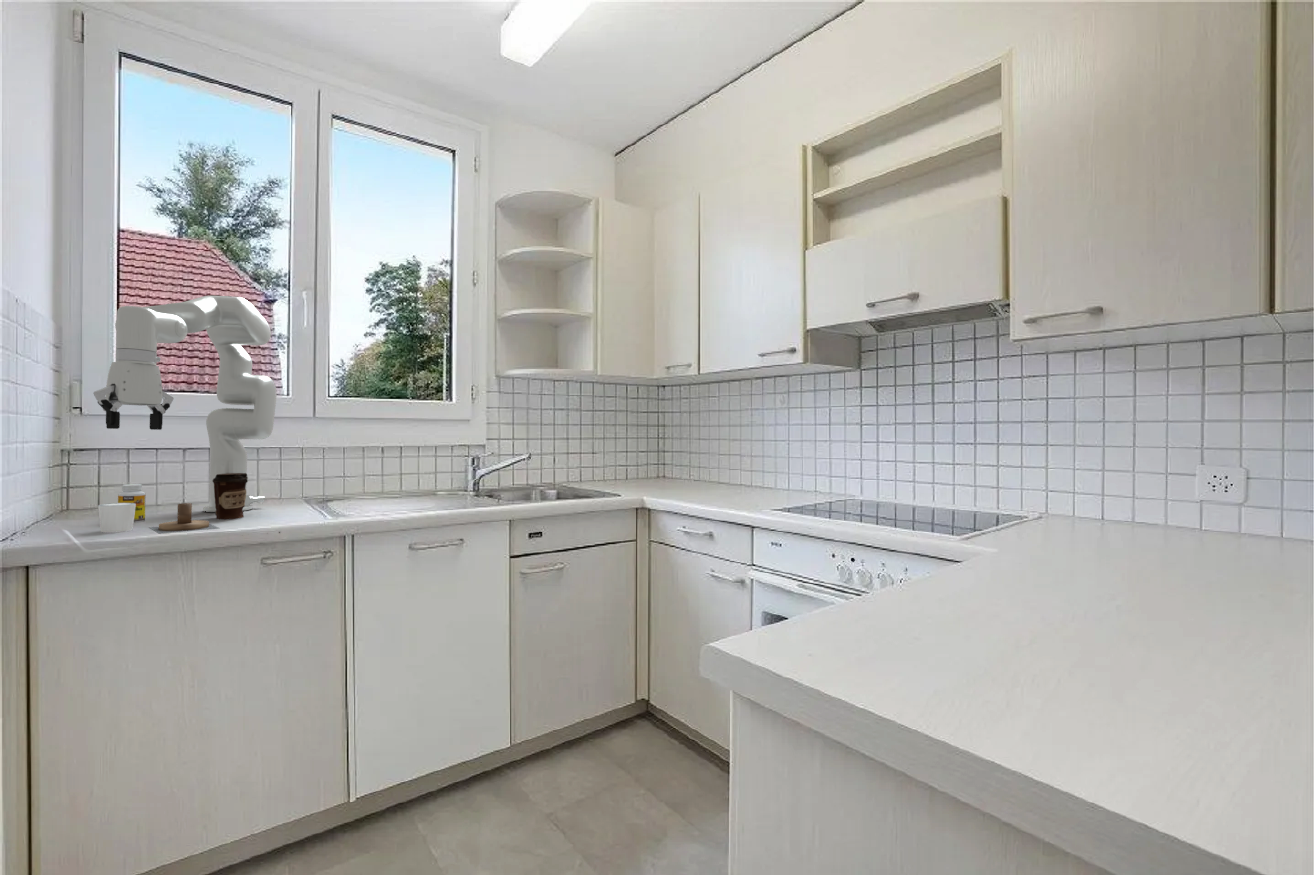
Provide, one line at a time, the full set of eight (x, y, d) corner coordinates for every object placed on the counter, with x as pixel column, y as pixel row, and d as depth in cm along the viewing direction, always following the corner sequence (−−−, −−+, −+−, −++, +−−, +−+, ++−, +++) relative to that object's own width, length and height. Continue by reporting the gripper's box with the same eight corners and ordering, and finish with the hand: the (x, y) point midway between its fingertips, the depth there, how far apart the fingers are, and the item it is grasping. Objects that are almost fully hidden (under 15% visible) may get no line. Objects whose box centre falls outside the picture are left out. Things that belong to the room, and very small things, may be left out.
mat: (207, 525, 162) (207, 522, 162) (219, 530, 154) (219, 528, 154) (148, 529, 153) (148, 527, 153) (159, 535, 145) (159, 533, 145)
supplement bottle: (118, 525, 159) (118, 485, 159) (116, 522, 163) (117, 484, 163) (146, 523, 163) (146, 485, 162) (144, 521, 167) (144, 483, 166)
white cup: (126, 534, 145) (126, 505, 145) (90, 535, 144) (91, 506, 143) (141, 530, 152) (141, 502, 152) (107, 531, 150) (108, 502, 150)
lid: (203, 523, 160) (203, 500, 160) (213, 528, 154) (214, 504, 154) (154, 527, 153) (155, 503, 153) (163, 532, 146) (163, 507, 146)
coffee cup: (255, 519, 174) (256, 473, 174) (224, 522, 166) (225, 474, 166) (236, 516, 177) (237, 472, 177) (205, 520, 170) (205, 473, 170)
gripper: (161, 363, 158) (159, 429, 158) (84, 353, 141) (82, 428, 141) (184, 362, 156) (182, 430, 156) (108, 353, 139) (106, 428, 139)
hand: (135, 429), depth 149 cm, fingers open, 9 cm apart
